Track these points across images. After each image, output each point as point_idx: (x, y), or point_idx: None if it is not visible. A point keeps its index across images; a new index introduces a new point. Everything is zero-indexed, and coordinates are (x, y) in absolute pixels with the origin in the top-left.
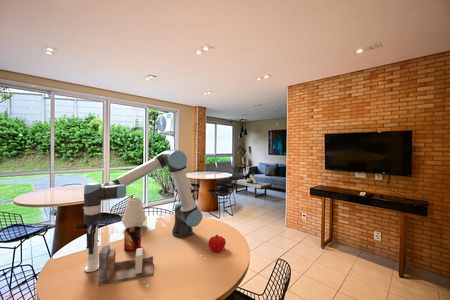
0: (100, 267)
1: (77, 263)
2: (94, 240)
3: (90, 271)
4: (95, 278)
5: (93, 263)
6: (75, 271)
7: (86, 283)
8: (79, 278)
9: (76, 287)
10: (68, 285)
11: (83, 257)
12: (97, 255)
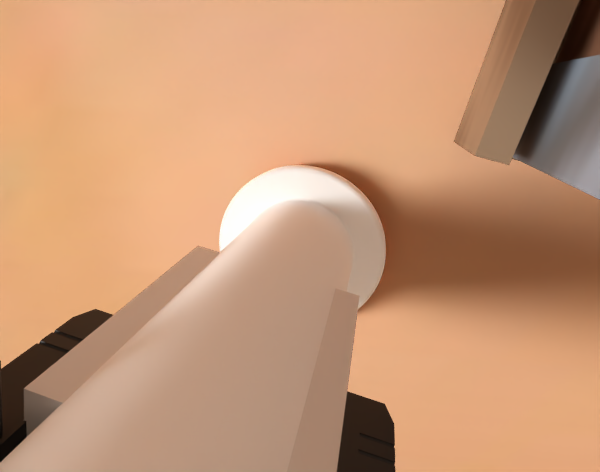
0: None
1: None
2: None
3: (381, 274)
4: (553, 232)
5: (346, 274)
6: None
7: (589, 317)
8: (427, 360)
9: (591, 395)
10: (492, 440)
11: (20, 299)
12: (287, 256)
